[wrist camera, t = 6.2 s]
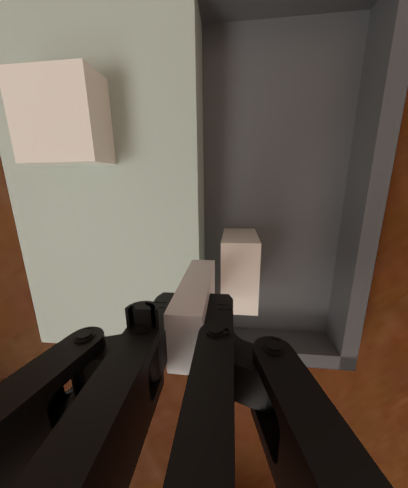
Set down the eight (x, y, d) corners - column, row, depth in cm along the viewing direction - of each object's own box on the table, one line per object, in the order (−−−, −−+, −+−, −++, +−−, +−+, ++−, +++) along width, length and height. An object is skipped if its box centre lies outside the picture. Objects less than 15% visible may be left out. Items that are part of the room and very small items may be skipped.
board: (206, 324, 22) (200, 353, 19) (72, 316, 24) (41, 342, 20) (202, 25, 16) (193, -23, 12) (23, 42, 18) (-34, 3, 14)
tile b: (116, 164, 15) (95, 161, 13) (48, 166, 16) (15, 163, 14) (107, 79, 14) (82, 58, 12) (33, 84, 15) (-5, 65, 12)
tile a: (223, 283, 21) (252, 284, 20) (220, 313, 16) (257, 315, 15) (224, 228, 19) (254, 228, 19) (220, 242, 14) (261, 243, 14)
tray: (335, 341, 21) (355, 370, 18) (206, 333, 23) (201, 359, 19) (389, -11, 15) (436, -68, 11) (202, 8, 16) (194, -38, 13)
